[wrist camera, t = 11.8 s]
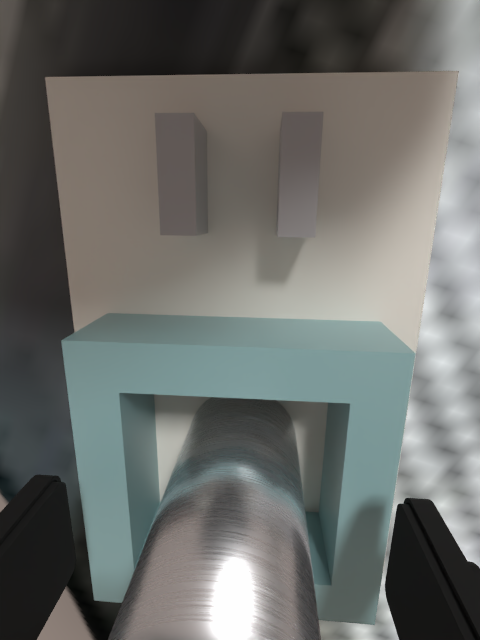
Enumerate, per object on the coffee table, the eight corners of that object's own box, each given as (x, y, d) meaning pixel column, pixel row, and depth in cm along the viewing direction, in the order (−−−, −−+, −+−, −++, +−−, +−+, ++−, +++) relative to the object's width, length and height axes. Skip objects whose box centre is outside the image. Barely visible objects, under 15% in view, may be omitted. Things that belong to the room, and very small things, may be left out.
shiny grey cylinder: (298, 391, 13) (340, 637, 5) (293, 485, 14) (320, 802, 6) (189, 386, 13) (80, 612, 6) (191, 478, 14) (102, 774, 7)
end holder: (441, 84, 11) (534, 11, 7) (375, 551, 16) (410, 657, 12) (63, 88, 12) (-35, 26, 8) (109, 531, 17) (62, 625, 13)
